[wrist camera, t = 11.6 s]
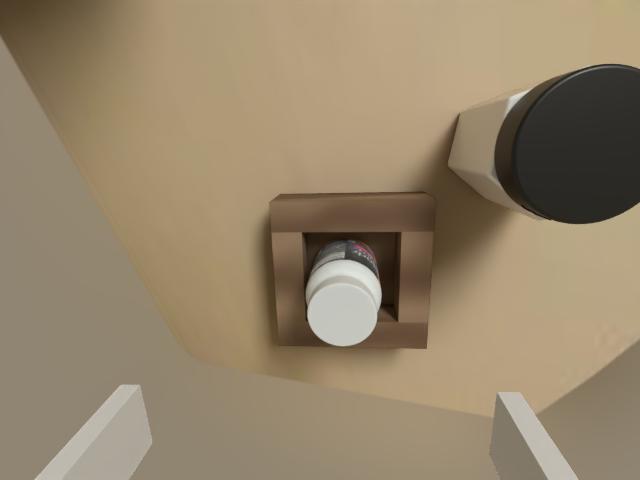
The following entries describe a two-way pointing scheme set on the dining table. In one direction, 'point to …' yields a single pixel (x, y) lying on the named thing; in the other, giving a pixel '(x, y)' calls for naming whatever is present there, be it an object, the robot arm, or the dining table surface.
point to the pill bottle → (343, 292)
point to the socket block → (384, 241)
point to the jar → (557, 146)
